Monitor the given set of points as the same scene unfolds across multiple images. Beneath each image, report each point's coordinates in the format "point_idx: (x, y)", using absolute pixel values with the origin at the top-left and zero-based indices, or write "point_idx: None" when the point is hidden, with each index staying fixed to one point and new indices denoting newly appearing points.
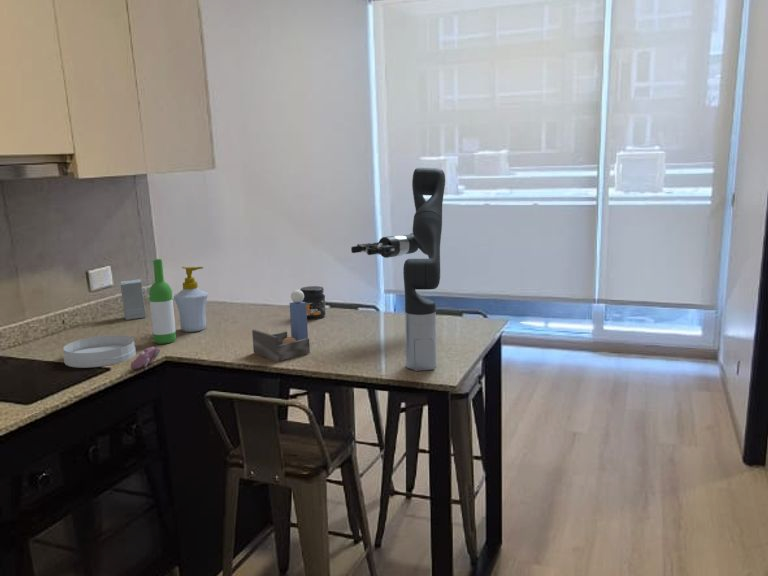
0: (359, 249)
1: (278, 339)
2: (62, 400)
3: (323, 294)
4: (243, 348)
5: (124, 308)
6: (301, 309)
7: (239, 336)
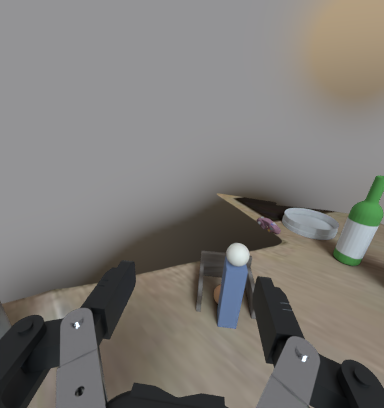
0: (266, 337)
1: (250, 296)
2: (229, 202)
3: None
4: (273, 282)
5: None
6: (224, 270)
7: (344, 311)
